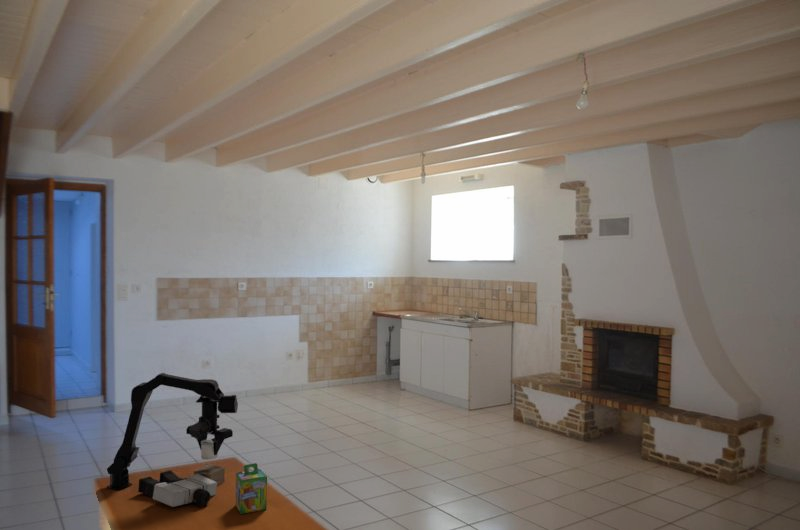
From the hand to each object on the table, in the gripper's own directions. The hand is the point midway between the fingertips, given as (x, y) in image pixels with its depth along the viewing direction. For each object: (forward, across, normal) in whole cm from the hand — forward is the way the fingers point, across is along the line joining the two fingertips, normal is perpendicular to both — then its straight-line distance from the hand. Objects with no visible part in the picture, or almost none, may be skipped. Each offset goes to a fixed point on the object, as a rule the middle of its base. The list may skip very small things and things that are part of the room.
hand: (209, 453), depth 224 cm
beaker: (+1, 0, 0) cm, 1 cm away
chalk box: (+12, +29, -10) cm, 33 cm away
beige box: (+12, 0, 0) cm, 12 cm away
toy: (+12, 0, -14) cm, 19 cm away
